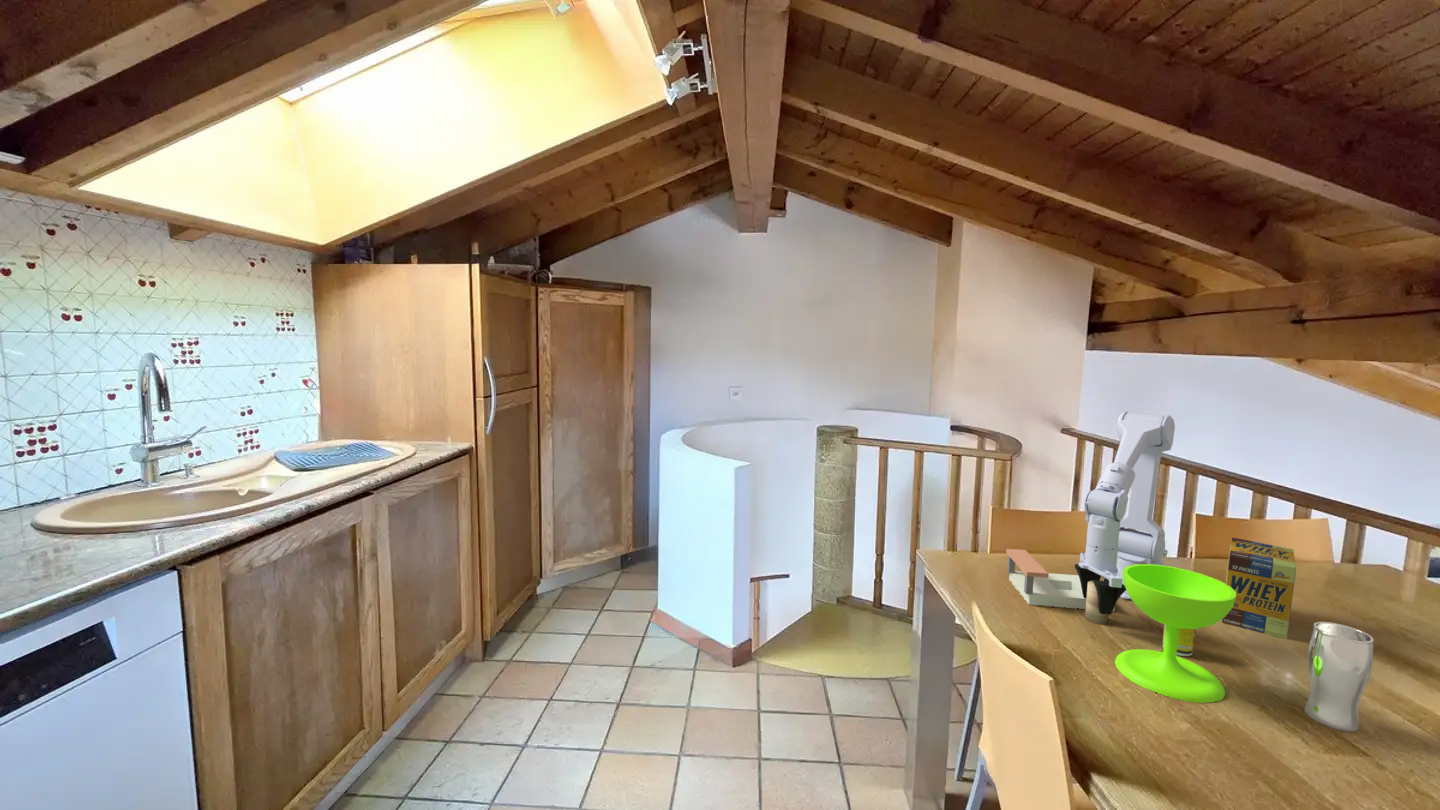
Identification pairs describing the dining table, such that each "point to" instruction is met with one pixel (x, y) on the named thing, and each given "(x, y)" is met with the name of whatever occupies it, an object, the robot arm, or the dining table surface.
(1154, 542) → the robot arm
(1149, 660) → the wineglass
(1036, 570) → the pink miniature bench
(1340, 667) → the beer glass
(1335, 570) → the dining table surface
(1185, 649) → the supplement bottle
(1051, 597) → the socket board
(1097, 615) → the peg
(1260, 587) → the protein box
